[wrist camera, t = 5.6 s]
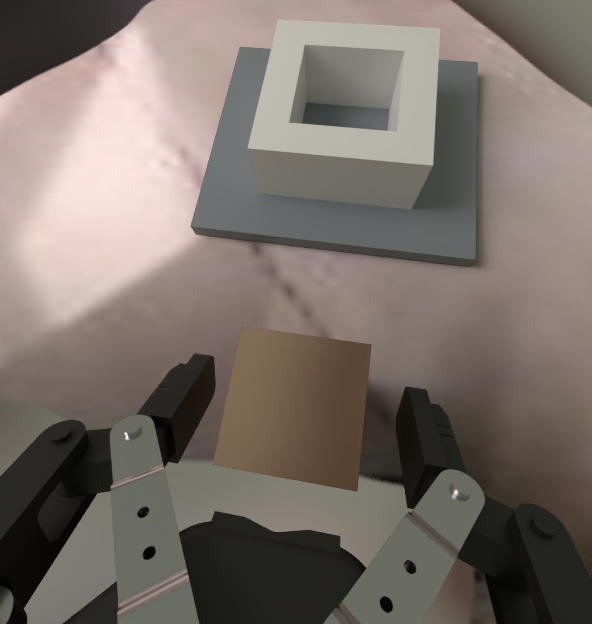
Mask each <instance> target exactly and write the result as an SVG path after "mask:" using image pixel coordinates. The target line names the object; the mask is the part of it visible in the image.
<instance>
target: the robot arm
mask: <svg viewBox="0 0 592 624" xmlns="http://www.w3.org/2000/svg"><path fill="white" fill-rule="evenodd" d="M215 385H216V383H215V365H214V357H213V356H210V355H203V354H197V353H196V354H194V355H193V356H192V358H191V359H190V360H189V362H188V363H187V364H182V363H181V364H179V365H177V366H176V367H174V368H173V369H171V370H170V371H169V373H168V374H167V375H166V376H165V378H164V380H163V381H162V382H161V383H160V384H159V386H158V388H156V390H155V391H154V392H153V393H152V395H151V396H150V397H149V399H148V400H147V401H146V403H145V404H144V405H143V407H142V408H141V409H140V410H139V412H138V413H137V414H136V415H133V416H129V417H126V418H124V419H122V420H121V421H119V422H118V423H117V424H116V425H115V426H114V427H113V428H109V429H99V430H89V431H86V428H85V425H84V424H83V423H82V422H80V421H77V420H67V421H62V422H59V423H57V424H54V425H52V426H50V427H49V428H47V429H46V430H45V431H43V432H42V433H41V434H40V435H39V436H38V437H37V438H36V440H35V441H34V442H33V443H32V444H31V445H30V446H29V447H28V448H27V449H26V450H25V451H24V452H23V453H22V454H21V455H20V456H19V458H18V459H17V460H16V461H15V462H14V463H13V464H12V465H11V466H10V467H9V468H8V469H7V470H6V471H5V472H4V473H3V474H2V476H0V624H27V615H26V612H25V610H24V607H25V606H26V604H27V603H28V601H29V600H30V598H31V596H32V595H33V593H34V592H35V590H36V589H37V587H38V585H39V584H40V582H41V581H42V579H43V578H44V576H45V574H46V573H47V571H48V570H49V568H50V567H51V565H52V564H53V562H54V560H55V559H56V557H57V556H58V554H59V553H60V551H61V549H62V548H63V546H64V545H65V543H66V542H67V540H68V538H69V537H70V535H71V534H72V532H73V531H74V529H75V528H76V526H77V524H78V523H79V521H80V520H81V518H82V516H83V515H84V513H85V512H86V510H87V509H88V507H89V506H90V504H91V502H92V501H93V499H94V498H95V496H96V495H97V493H101V492H108V491H111V503H112V516H113V530H114V531H113V532H114V547H115V561H116V576H117V581H116V582H115V583H114V584H112V585H111V586H110V587H109V588H107V589H106V590H105V591H104V592H102V593H101V594H100V595H99V596H97V597H96V598H95V599H93V600H92V601H91V602H90V603H89V604H87V605H86V606H85V607H83V608H82V609H81V610H80V611H78V612H77V613H76V614H74V615H73V616H72V617H71V618H70V619H68V620H67V621H66V622H64V623H63V624H422V622H423V620H424V619H425V617H426V615H427V613H428V611H429V609H430V607H431V605H432V604H433V602H434V600H435V598H436V596H437V594H438V592H439V590H440V588H441V587H442V585H443V583H444V581H445V579H446V577H447V575H448V573H449V572H450V570H451V568H452V566H453V564H454V562H455V560H456V558H458V559H460V560H462V561H464V562H466V563H467V564H469V565H471V566H473V567H475V568H477V569H478V570H480V571H482V572H484V574H485V578H486V582H487V586H488V590H489V594H490V598H491V602H492V606H493V610H494V614H495V619H496V623H497V624H592V581H591V579H590V577H589V575H588V572H587V570H586V568H585V566H584V564H583V562H582V560H581V558H580V556H579V554H578V552H577V550H576V548H575V546H574V543H573V541H572V539H571V537H570V535H569V533H568V531H567V530H566V528H565V527H564V525H563V524H562V523H561V522H560V521H559V520H558V519H557V518H556V517H555V516H554V515H553V514H551V513H550V512H548V511H547V510H545V509H543V508H542V507H539V506H537V505H533V504H521V505H519V506H518V507H517V508H516V510H514V509H512V508H510V507H508V506H506V505H504V504H501V503H499V502H497V501H495V500H493V499H491V498H489V497H487V496H486V495H484V493H483V491H482V489H481V488H480V486H479V485H478V484H477V482H476V481H475V480H474V479H472V478H471V477H470V476H468V475H467V472H466V469H465V466H464V463H463V460H462V457H461V454H460V451H459V448H458V445H457V442H456V439H454V433H453V430H452V429H451V425H450V422H449V419H448V416H447V414H446V413H445V412H444V411H443V409H442V408H441V407H440V406H439V405H437V404H431V403H430V400H429V396H428V393H427V391H426V390H425V389H419V388H412V387H406V388H405V390H404V393H403V396H402V399H401V403H400V406H399V409H398V412H397V417H396V434H397V440H398V447H399V454H400V461H401V468H402V475H403V482H404V488H405V495H406V502H407V508H411V509H414V510H413V511H412V512H411V513H410V512H409V513H408V514H407V515H406V516H405V517H404V518H403V520H402V521H401V522H400V524H399V525H398V527H397V528H396V529H395V531H394V532H393V533H392V535H391V536H390V538H389V539H388V540H387V542H386V543H385V544H384V546H383V547H382V548H381V550H380V551H379V553H378V554H377V555H376V556H375V558H374V559H373V560H372V562H371V563H370V564H369V566H368V567H367V568H366V567H365V566H364V565H363V564H362V563H361V562H360V561H359V560H358V559H357V558H356V557H354V556H353V555H352V554H350V553H349V552H348V551H346V550H345V549H343V548H341V547H340V536H337V535H331V534H326V533H322V532H316V531H312V530H301V531H288V532H273V531H271V530H269V529H267V528H265V527H263V526H261V525H259V524H257V523H255V522H253V521H252V520H250V519H247V518H246V517H242V516H237V515H232V514H227V513H222V512H217V511H215V513H214V515H213V518H212V521H210V522H203V523H199V524H196V525H193V526H191V527H188V528H187V529H184V530H183V531H181V532H178V528H177V524H176V519H175V514H174V510H173V505H172V501H171V496H170V492H169V487H168V483H167V478H166V474H165V469H164V468H165V466H166V464H167V463H168V462H173V463H178V462H179V461H180V459H181V457H182V455H183V453H184V451H185V449H186V447H187V445H188V443H189V442H190V440H191V438H192V436H193V434H194V432H195V430H196V428H197V426H198V424H199V423H200V421H201V419H202V417H203V415H204V413H205V411H206V409H207V407H208V405H209V404H210V402H211V400H212V398H213V395H214V392H215Z"/></svg>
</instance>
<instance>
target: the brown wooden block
mask: <svg viewBox="0 0 592 624" xmlns="http://www.w3.org/2000/svg"><path fill="white" fill-rule="evenodd" d="M370 354H371V345H370V344H363V343H356V342H349V341H342V340H335V339H328V338H321V337H314V336H307V335H300V334H293V333H286V332H279V331H273V330H266V329H259V328H252V327H245V326H241V330H240V335H239V340H238V345H237V350H236V354H235V359H234V364H233V369H232V374H231V378H230V383H229V388H228V393H227V398H226V403H225V407H224V412H223V417H222V422H221V427H220V431H219V436H218V441H217V446H216V451H215V455H214V460H213V465H217V466H223V467H228V468H233V469H239V470H244V471H250V472H255V473H260V474H266V475H271V476H276V477H282V478H287V479H293V480H298V481H303V482H309V483H315V484H320V485H325V486H331V487H336V488H342V489H347V490H352V491H357V489H358V479H359V468H360V458H361V448H362V437H363V427H364V416H365V406H366V396H367V385H368V375H369V364H370Z"/></svg>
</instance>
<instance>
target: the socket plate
mask: <svg viewBox="0 0 592 624" xmlns="http://www.w3.org/2000/svg"><path fill="white" fill-rule="evenodd" d="M439 42H440V28H422V27H404V26H386V25H368V24H350V23H333V22H315V21H297V20H279V19H278V23H277V27H276V31H275V35H274V39H273V43H272V48H271V49H264V48H248V47H240V48H239V52H238V56H237V59H236V63H235V67H234V70H233V74H232V78H231V81H230V85H229V88H228V92H227V96H226V99H225V103H224V107H223V110H222V114H221V118H220V121H219V125H218V129H217V132H216V136H215V139H214V143H213V147H212V150H211V154H210V158H209V161H208V165H207V169H206V172H205V176H204V180H203V183H202V187H201V190H200V194H199V198H198V201H197V205H196V209H195V212H194V216H193V220H192V223H191V228H192V229H193V231H194V232H195V234H199V235H207V236H216V237H224V238H233V239H241V240H249V241H258V242H266V243H275V244H283V245H291V246H300V247H308V248H317V249H325V250H333V251H342V252H350V253H358V254H367V255H375V256H384V257H392V258H400V259H409V260H417V261H426V262H434V263H442V264H451V265H459V266H469V265H470V264H472V263H473V262H474V261H475V260H476V172H477V72H478V62H466V61H450V60H439Z"/></svg>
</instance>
